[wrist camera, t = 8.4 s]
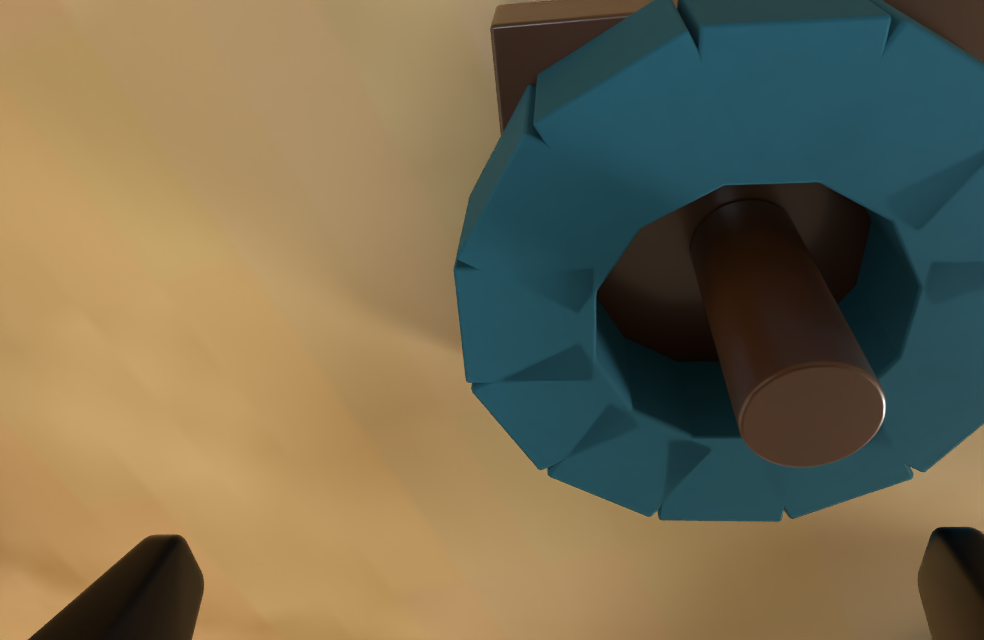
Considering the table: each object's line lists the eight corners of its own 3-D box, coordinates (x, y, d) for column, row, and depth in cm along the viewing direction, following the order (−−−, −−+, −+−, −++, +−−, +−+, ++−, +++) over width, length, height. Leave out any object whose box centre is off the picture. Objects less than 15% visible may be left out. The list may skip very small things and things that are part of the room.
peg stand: (531, 382, 19) (519, 611, 14) (495, 5, 14) (456, 136, 9) (909, 370, 18) (1055, 612, 13) (1019, -43, 13) (1337, 75, 8)
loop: (489, 440, 18) (481, 519, 16) (448, 0, 13) (427, 38, 11) (926, 441, 17) (973, 524, 15) (1094, -37, 12) (1202, -1, 10)
